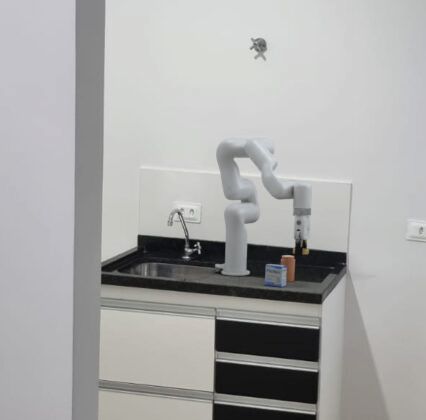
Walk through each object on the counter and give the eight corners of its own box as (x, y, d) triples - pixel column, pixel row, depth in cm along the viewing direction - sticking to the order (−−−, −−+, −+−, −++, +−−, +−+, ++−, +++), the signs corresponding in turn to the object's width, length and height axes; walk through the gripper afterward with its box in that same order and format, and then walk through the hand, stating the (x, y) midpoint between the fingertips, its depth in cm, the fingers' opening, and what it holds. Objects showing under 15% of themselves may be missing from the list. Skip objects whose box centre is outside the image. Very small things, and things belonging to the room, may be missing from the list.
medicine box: (264, 285, 358) (265, 264, 357) (269, 283, 362) (270, 263, 361) (281, 287, 354) (282, 266, 354) (286, 285, 358) (287, 265, 358)
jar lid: (311, 253, 361) (311, 249, 361) (302, 254, 356) (303, 250, 356) (298, 251, 365) (298, 247, 365) (289, 253, 359) (290, 248, 359)
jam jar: (279, 281, 369) (280, 256, 368) (280, 278, 375) (281, 254, 374) (293, 281, 369) (294, 257, 368) (295, 279, 375) (295, 255, 374)
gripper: (305, 214, 350) (304, 258, 351) (315, 211, 367) (314, 253, 368) (287, 213, 351) (286, 257, 353) (298, 210, 368) (297, 252, 370)
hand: (300, 254), depth 360 cm, fingers closed on jar lid, 6 cm apart
